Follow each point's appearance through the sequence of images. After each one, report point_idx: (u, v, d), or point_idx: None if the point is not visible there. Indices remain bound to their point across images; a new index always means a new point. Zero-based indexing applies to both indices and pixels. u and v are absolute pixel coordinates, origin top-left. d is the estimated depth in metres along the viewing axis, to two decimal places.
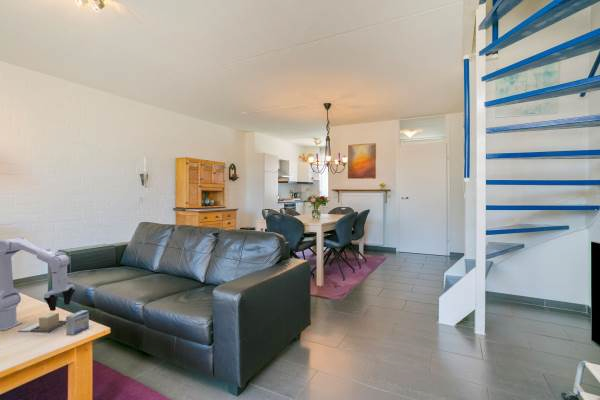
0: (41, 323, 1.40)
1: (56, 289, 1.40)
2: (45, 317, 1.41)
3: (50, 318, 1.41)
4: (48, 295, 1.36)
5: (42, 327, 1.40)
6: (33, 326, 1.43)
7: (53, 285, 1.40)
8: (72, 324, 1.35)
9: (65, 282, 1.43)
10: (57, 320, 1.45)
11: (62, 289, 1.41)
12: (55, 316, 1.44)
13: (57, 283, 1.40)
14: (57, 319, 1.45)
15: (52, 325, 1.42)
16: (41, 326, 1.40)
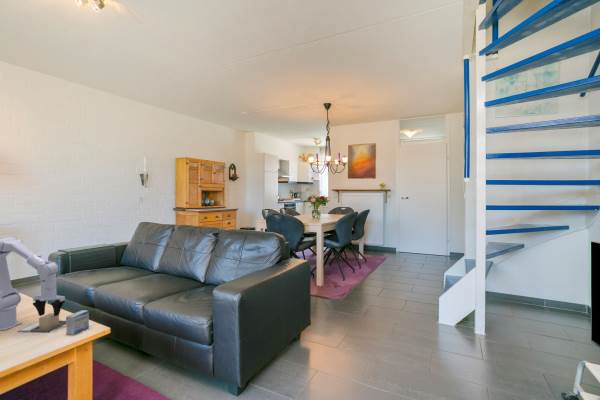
0: (41, 323, 1.40)
1: None
2: (45, 317, 1.41)
3: (50, 318, 1.41)
4: (33, 299, 1.42)
5: (42, 327, 1.40)
6: (33, 326, 1.43)
7: None
8: (72, 324, 1.35)
9: (44, 292, 1.40)
10: (57, 320, 1.45)
11: (41, 298, 1.40)
12: (55, 316, 1.44)
13: None
14: (57, 319, 1.45)
15: (52, 325, 1.42)
16: (41, 326, 1.40)
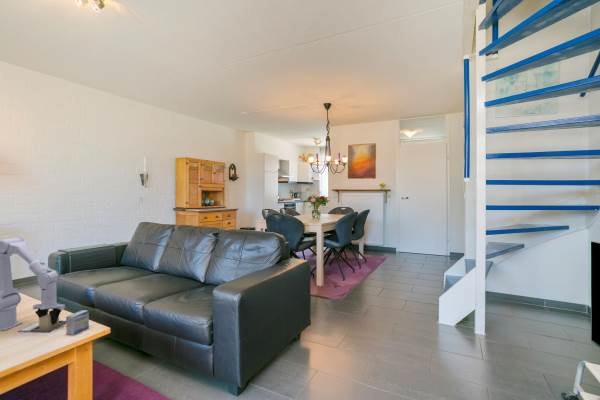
0: (41, 323, 1.40)
1: None
2: (45, 317, 1.41)
3: (50, 318, 1.41)
4: (33, 307, 1.42)
5: (42, 327, 1.40)
6: (33, 326, 1.43)
7: None
8: (72, 324, 1.35)
9: (44, 300, 1.40)
10: (57, 320, 1.45)
11: (41, 306, 1.40)
12: None
13: None
14: None
15: (52, 325, 1.42)
16: (41, 325, 1.40)
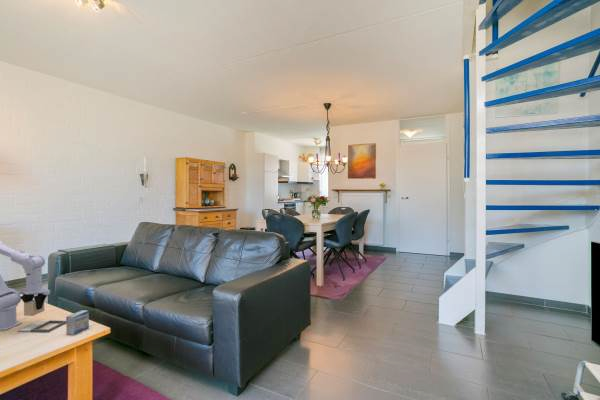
0: (26, 309, 1.40)
1: None
2: (30, 302, 1.41)
3: (35, 303, 1.41)
4: (19, 292, 1.42)
5: (27, 312, 1.40)
6: (33, 326, 1.43)
7: None
8: (72, 324, 1.35)
9: (29, 285, 1.40)
10: (42, 306, 1.45)
11: (26, 291, 1.41)
12: None
13: None
14: (43, 305, 1.46)
15: (37, 311, 1.43)
16: (26, 311, 1.40)
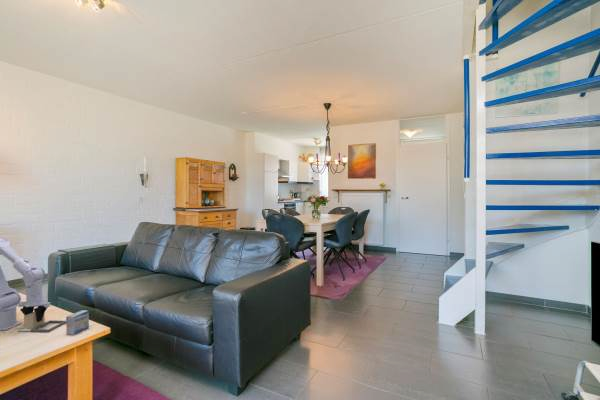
0: (26, 321, 1.40)
1: None
2: (30, 315, 1.41)
3: (35, 316, 1.42)
4: (19, 304, 1.43)
5: (27, 325, 1.40)
6: None
7: None
8: (72, 324, 1.35)
9: (29, 298, 1.40)
10: None
11: (26, 304, 1.41)
12: None
13: None
14: (43, 317, 1.46)
15: (37, 323, 1.43)
16: (26, 323, 1.40)
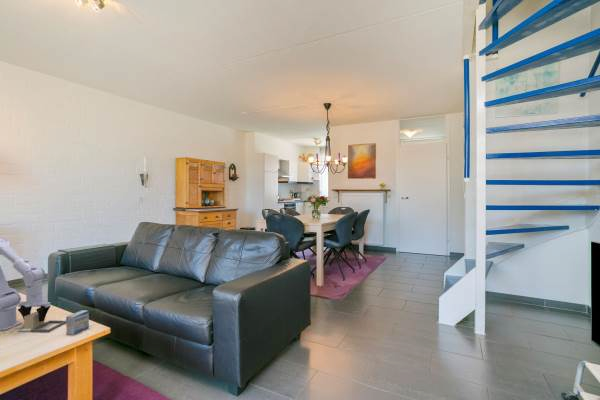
0: (26, 322, 1.40)
1: None
2: (30, 316, 1.41)
3: (35, 317, 1.42)
4: (19, 304, 1.43)
5: (27, 326, 1.40)
6: None
7: None
8: (72, 324, 1.35)
9: (29, 298, 1.40)
10: None
11: (26, 304, 1.41)
12: None
13: None
14: None
15: (37, 324, 1.43)
16: (26, 324, 1.40)
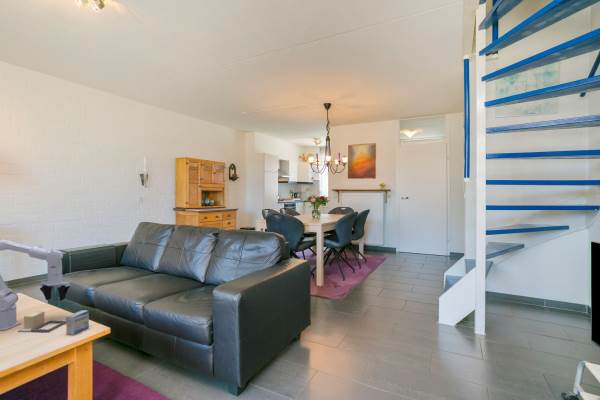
0: (26, 322, 1.40)
1: None
2: (30, 316, 1.41)
3: (35, 317, 1.42)
4: (40, 284, 1.51)
5: (27, 326, 1.40)
6: None
7: None
8: (72, 324, 1.35)
9: (50, 277, 1.49)
10: (42, 319, 1.45)
11: (48, 283, 1.49)
12: (40, 315, 1.44)
13: None
14: (43, 318, 1.46)
15: (37, 324, 1.43)
16: (26, 324, 1.40)
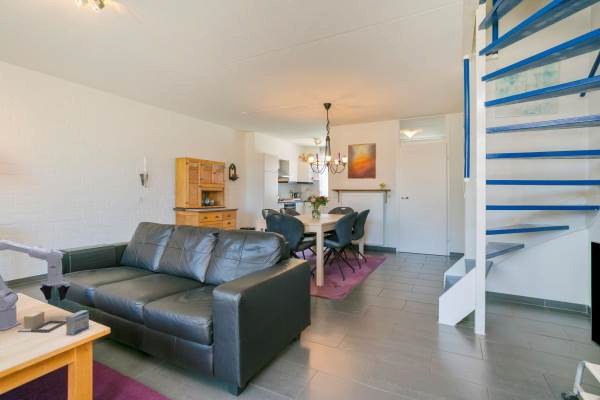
0: (26, 322, 1.40)
1: None
2: (30, 316, 1.41)
3: (35, 317, 1.42)
4: (40, 284, 1.51)
5: (27, 326, 1.40)
6: None
7: None
8: (72, 324, 1.35)
9: (50, 277, 1.49)
10: (42, 319, 1.45)
11: (48, 283, 1.49)
12: (40, 315, 1.44)
13: None
14: (43, 318, 1.46)
15: (37, 324, 1.43)
16: (26, 324, 1.40)
